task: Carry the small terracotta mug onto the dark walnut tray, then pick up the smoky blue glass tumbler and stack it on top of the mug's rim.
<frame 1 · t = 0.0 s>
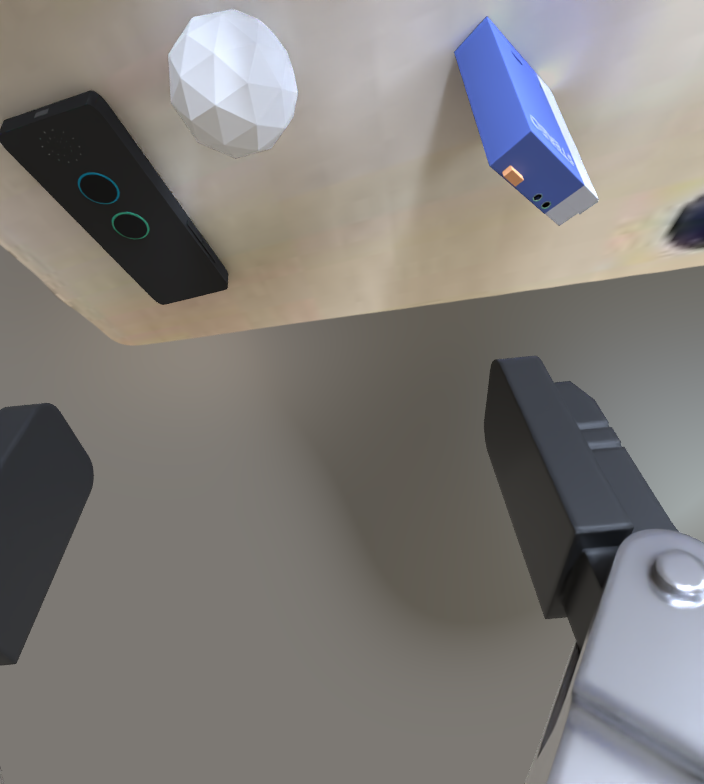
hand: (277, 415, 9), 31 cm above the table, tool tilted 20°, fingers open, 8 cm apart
smart home device: (136, 211, 44), on the table
geometric ball: (236, 52, 33), on the table
walkman: (503, 68, 35), on the table
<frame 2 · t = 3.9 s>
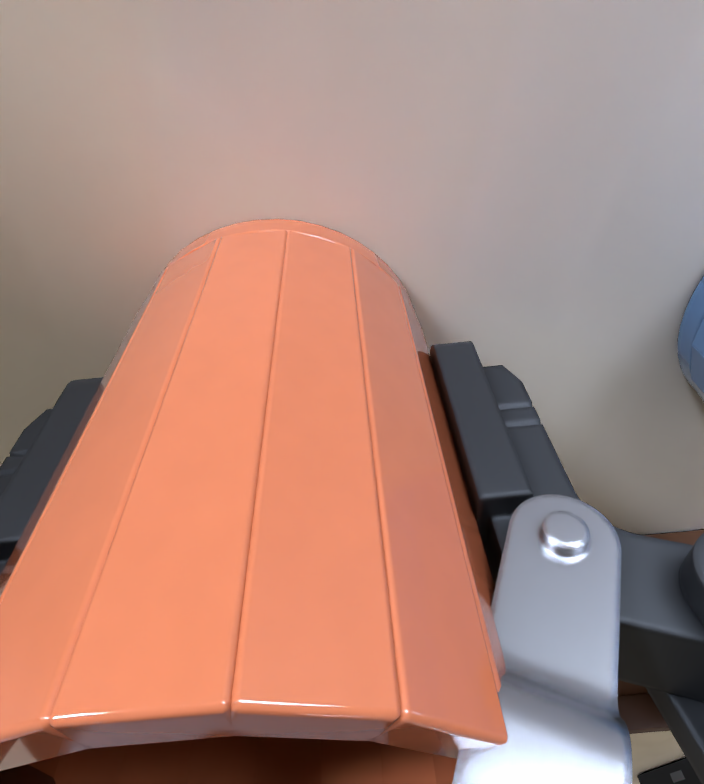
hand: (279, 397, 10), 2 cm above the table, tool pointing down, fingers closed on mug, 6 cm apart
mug: (285, 349, 11), on the table, touching gripper
tray: (490, 638, 21), on the table
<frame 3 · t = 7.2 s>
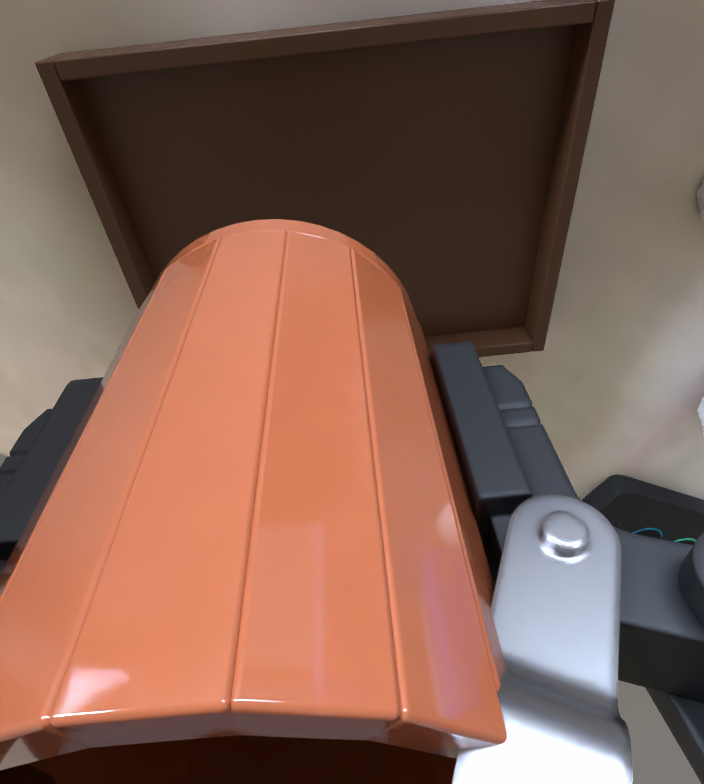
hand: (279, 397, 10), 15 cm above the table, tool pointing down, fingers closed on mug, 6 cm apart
smart home device: (669, 528, 41), on the table
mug: (285, 348, 11), point 13 cm above the table, touching gripper
tray: (341, 218, 23), on the table
when the fingers open (2 cm above the table, at t = 10.6 s): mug stays where it is, resting on tray.
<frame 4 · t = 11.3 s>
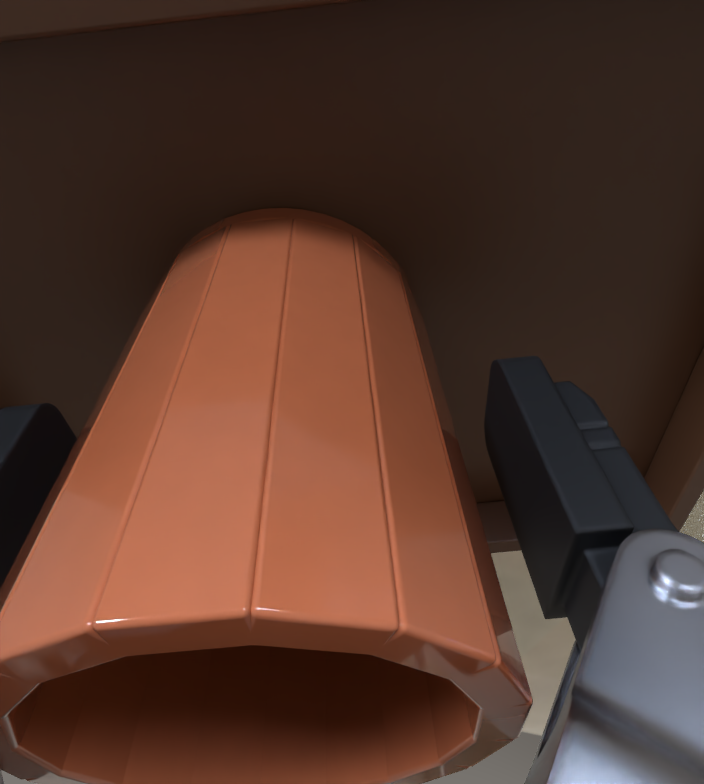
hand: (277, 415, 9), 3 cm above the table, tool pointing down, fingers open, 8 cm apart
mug: (290, 334, 12), point 1 cm above the table, touching tray
tray: (333, 334, 12), on the table
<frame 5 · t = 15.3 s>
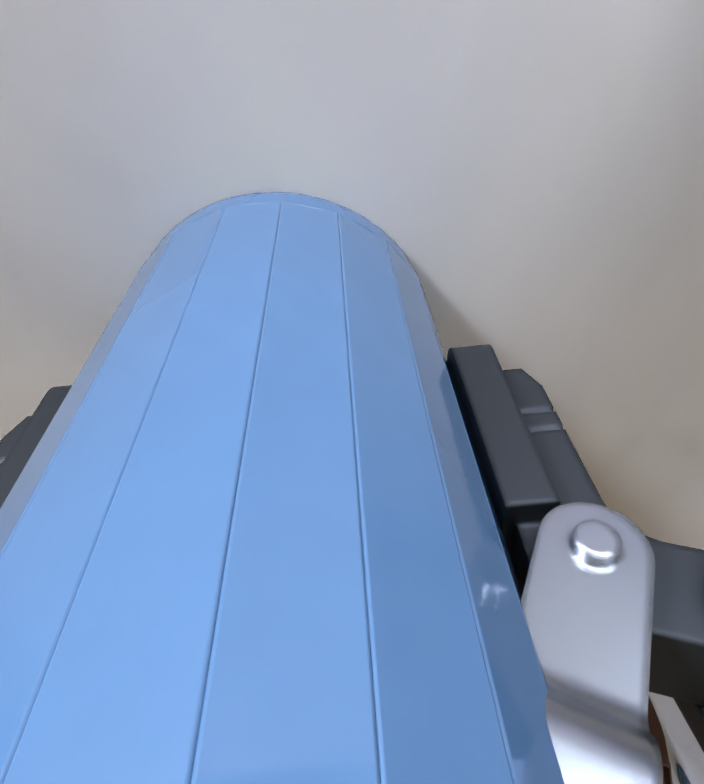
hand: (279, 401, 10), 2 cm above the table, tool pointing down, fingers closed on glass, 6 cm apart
glass: (286, 335, 11), on the table, touching gripper
milkshake: (623, 610, 22), on the table
when the fingers open (11 cm above the table, at t = 22.7 s): glass stays where it is, resting on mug.
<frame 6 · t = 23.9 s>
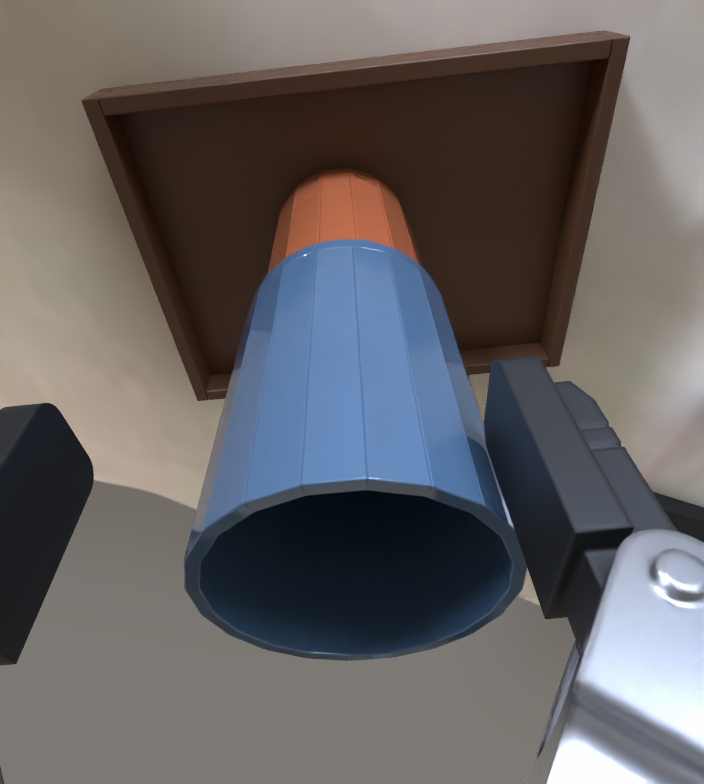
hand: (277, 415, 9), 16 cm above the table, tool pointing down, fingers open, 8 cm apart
glass: (347, 332, 17), point 9 cm above the table, touching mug
smart home device: (683, 539, 41), on the table
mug: (342, 235, 23), point 1 cm above the table, touching glass, tray
tray: (363, 239, 24), on the table
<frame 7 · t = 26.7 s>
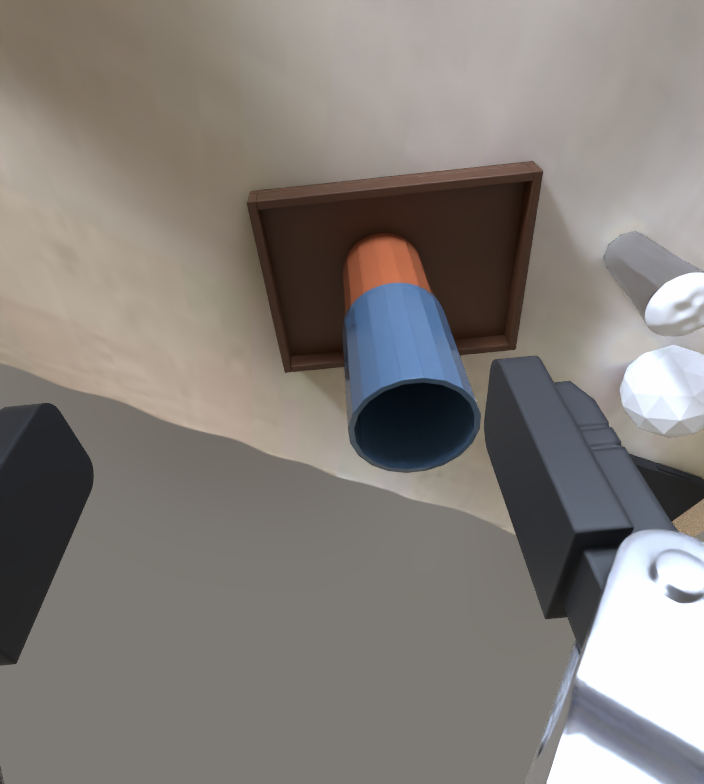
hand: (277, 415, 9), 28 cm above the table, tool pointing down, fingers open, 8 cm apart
glass: (394, 328, 32), point 9 cm above the table, touching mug
smart home device: (615, 479, 57), on the table
milkshake: (628, 246, 38), on the table
geometric ball: (647, 363, 46), on the table
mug: (382, 270, 38), point 1 cm above the table, touching glass, tray
tray: (394, 271, 39), on the table
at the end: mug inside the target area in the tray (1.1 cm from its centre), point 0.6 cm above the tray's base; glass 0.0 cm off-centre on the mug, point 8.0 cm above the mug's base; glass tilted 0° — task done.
